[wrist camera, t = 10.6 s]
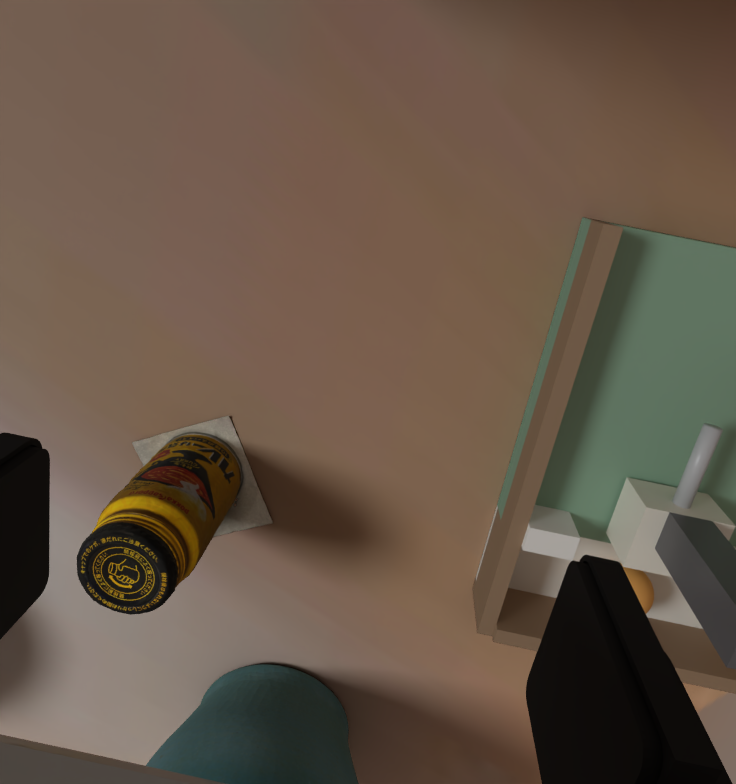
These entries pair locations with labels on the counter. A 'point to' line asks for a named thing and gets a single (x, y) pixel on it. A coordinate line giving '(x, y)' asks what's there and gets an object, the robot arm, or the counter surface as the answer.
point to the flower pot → (263, 732)
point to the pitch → (617, 429)
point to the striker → (684, 542)
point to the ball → (641, 587)
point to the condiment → (169, 516)
